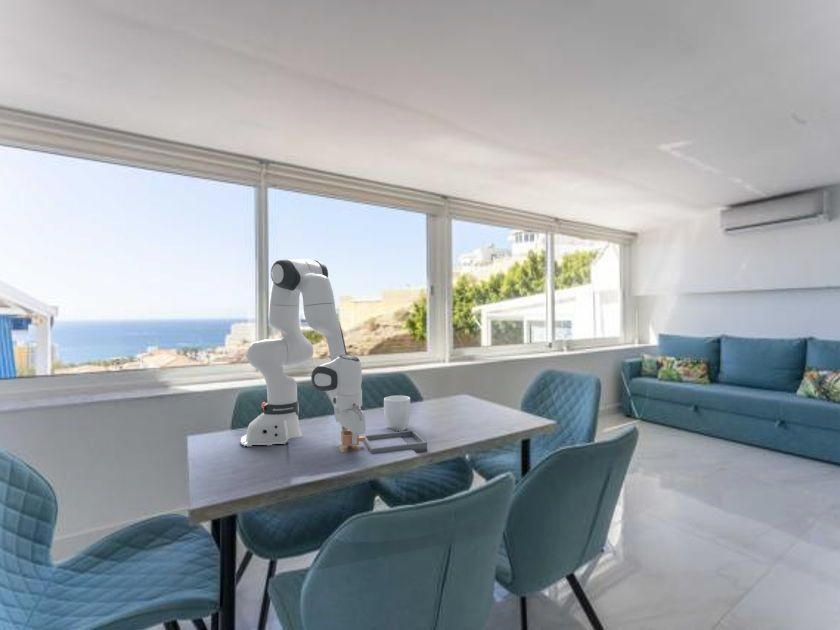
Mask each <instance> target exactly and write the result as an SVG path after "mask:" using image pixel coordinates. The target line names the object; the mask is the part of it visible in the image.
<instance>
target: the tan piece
mask: <svg viewBox="0 0 840 630" xmlns="http://www.w3.org/2000/svg"><path fill="white" fill-rule="evenodd" d="M348 434H352V432H351V431H349V430H348V431H342V430H341V431H340V442H341V446H351V445H359V446H360V442H364V441H365V436H363V435H362V436H361V435H360V434H359V435H358V438H357V444H352V443H351V438H352V435H348Z"/></svg>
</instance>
